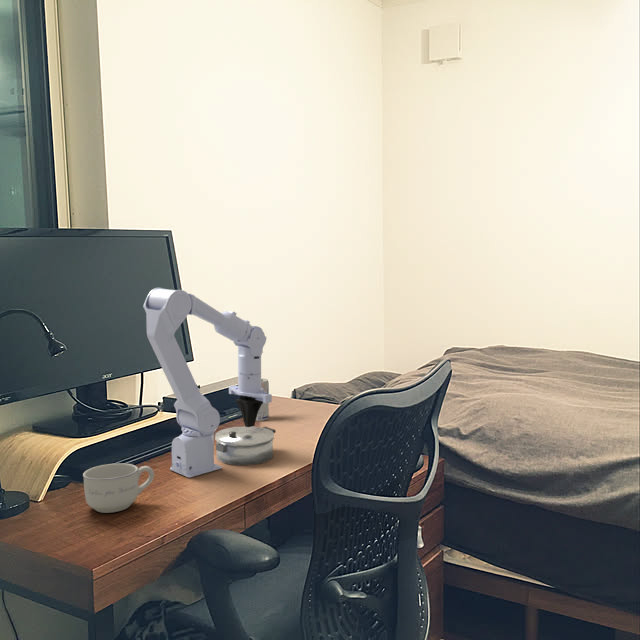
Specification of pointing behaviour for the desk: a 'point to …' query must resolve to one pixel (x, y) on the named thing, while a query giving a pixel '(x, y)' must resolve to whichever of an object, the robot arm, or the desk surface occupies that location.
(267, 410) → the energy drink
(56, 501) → the desk surface
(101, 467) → the teacup
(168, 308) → the robot arm
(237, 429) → the lid
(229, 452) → the pot
